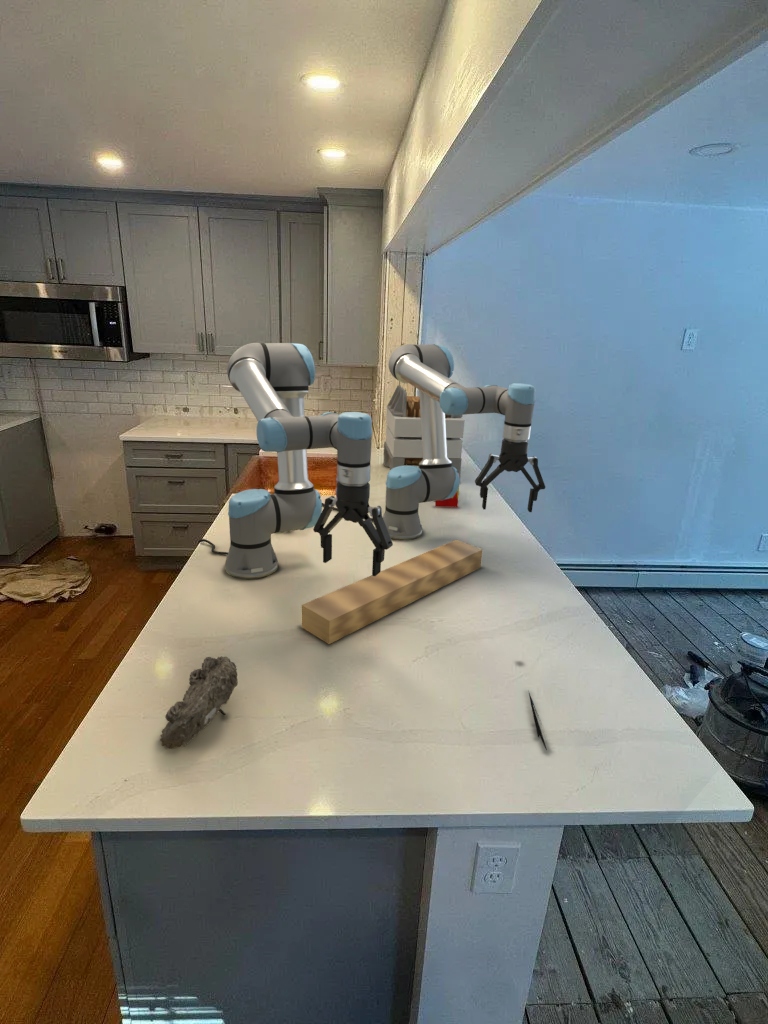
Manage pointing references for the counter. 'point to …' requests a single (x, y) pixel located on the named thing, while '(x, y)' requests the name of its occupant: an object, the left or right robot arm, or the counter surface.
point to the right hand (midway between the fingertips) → (506, 509)
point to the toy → (449, 501)
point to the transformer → (415, 433)
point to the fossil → (200, 701)
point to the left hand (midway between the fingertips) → (351, 567)
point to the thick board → (388, 590)
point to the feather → (536, 721)
